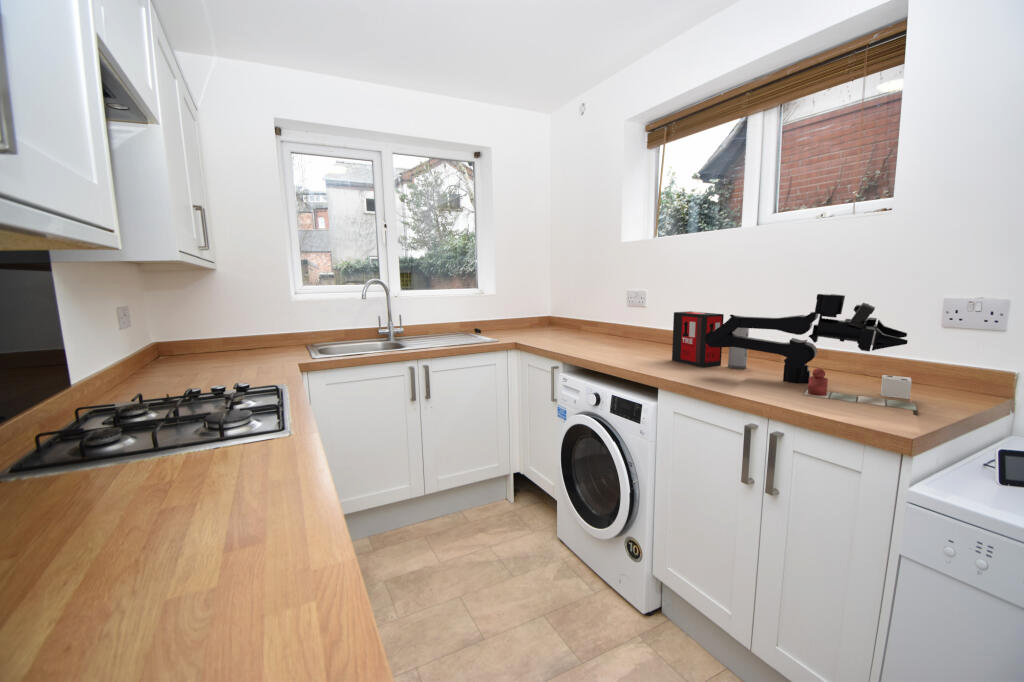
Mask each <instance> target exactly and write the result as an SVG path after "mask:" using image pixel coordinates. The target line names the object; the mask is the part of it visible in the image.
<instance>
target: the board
mask: <svg viewBox="0 0 1024 682" xmlns="http://www.w3.org/2000/svg"><path fill="white" fill-rule="evenodd" d="M802 396H805V397H812V398H817V399H819V398H820V399H826V400H832V401H833V400H835V401H841V402H849V403H857V404H863V405H871V406H878V407H879V406H880V407H885V408H893V409H901V410H907V411H908V410H909V411H912V414H913V415H915V416H917V415H918V414H919V409H918V405H917V403H916V402H912V401H904V400H896V399H890V398H888V399H887V398H881V397H880V398H879V397H871V396H864V395H855V394H848V393H839V392H834V391H827V395H825V396H818V395H812V394H809V393H808V388H806V389H805V391H804V392H803V394H802Z"/></svg>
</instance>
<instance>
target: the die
mask: <svg viewBox="0 0 1024 682" xmlns="http://www.w3.org/2000/svg"><path fill="white" fill-rule="evenodd" d="M880 385H881V387H880V396H881V397H889V398H896V399H897V398H898V399H903V400H910V399H911V391H912V385H913V381H912V377H908V376H899V375H887V374H882V376H881V384H880Z"/></svg>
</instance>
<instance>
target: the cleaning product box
mask: <svg viewBox="0 0 1024 682" xmlns="http://www.w3.org/2000/svg"><path fill="white" fill-rule="evenodd" d="M724 315H725V314H723V313H713V312H702V311H701V312H700V311H674V312H673V323H672V324H673V326H672V327H673V328H672V349H671V351H672V352H671V361H672V362H677V363H680V364H685V365H689V366H694V367H697V368H702V369H706V368H713V367H714V368H715V367H721V366H722V352H723V351H722V350H723V347H710V346H708V345H707V344H706V342H705V336H706V334H707V333H708V332H710V331H713V330H716V329H717V328H719V327H720V326H721V325H723V324H724V319H725V318H724V317H725V316H724Z"/></svg>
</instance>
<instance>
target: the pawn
mask: <svg viewBox="0 0 1024 682" xmlns="http://www.w3.org/2000/svg"><path fill="white" fill-rule="evenodd" d="M811 373H812V375H811V376H810V377H809V384H808V386H807V389H808V393H809V394H812V395H818V396H825V395H827V392H828V382H829V379H828V378H827V377H826V371H825V370H824V369H822V368H820V367H818V368H815V369H813V371H812V372H811Z"/></svg>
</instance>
